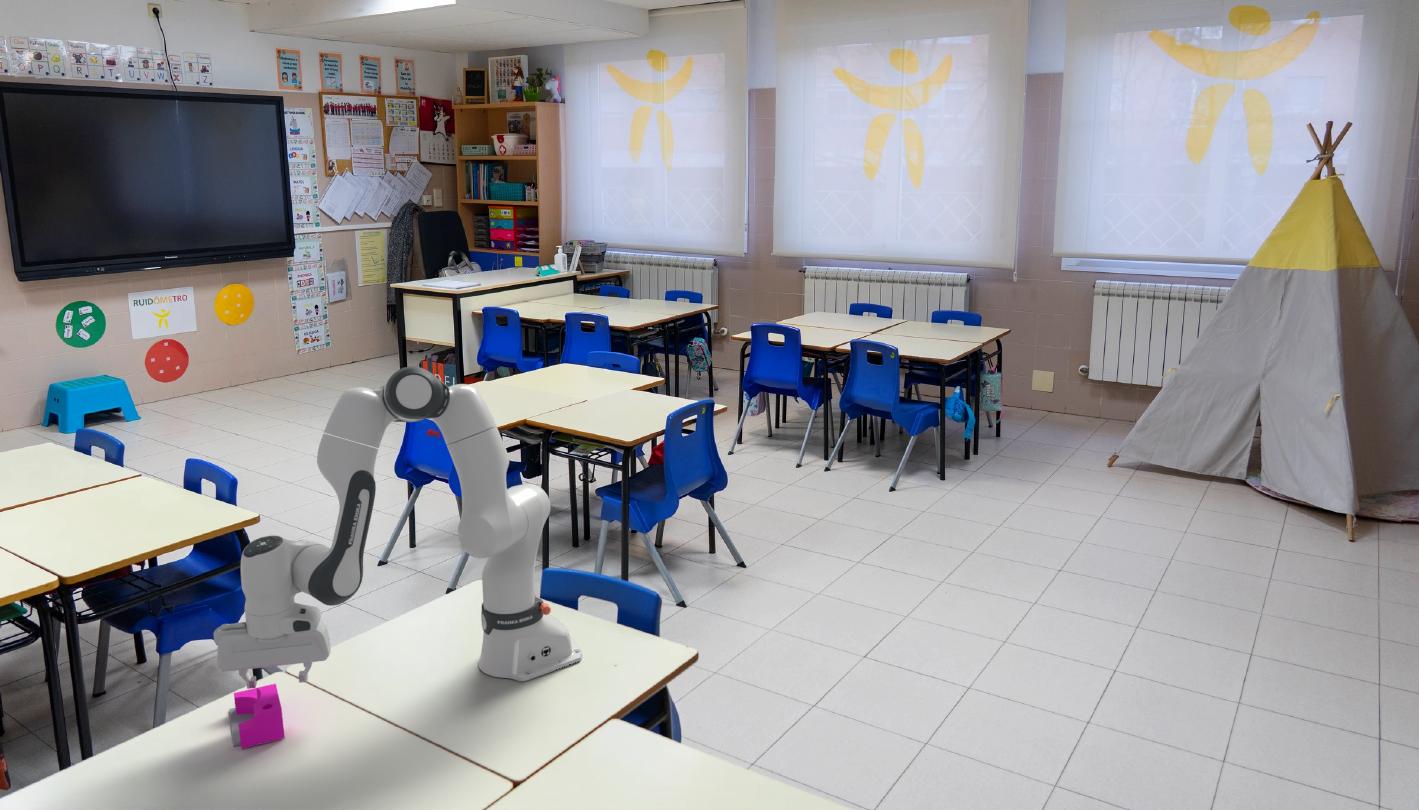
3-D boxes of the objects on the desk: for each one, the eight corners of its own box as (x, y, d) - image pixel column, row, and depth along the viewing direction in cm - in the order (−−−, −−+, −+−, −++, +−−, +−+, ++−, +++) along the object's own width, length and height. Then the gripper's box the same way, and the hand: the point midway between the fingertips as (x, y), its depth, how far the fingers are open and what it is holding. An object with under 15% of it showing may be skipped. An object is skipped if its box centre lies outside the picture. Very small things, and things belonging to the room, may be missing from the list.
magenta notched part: (281, 708, 184) (237, 719, 181) (284, 737, 186) (241, 748, 182) (273, 672, 197) (232, 681, 193) (276, 700, 198) (235, 709, 195)
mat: (272, 700, 199) (272, 699, 199) (279, 735, 187) (279, 734, 187) (229, 710, 195) (229, 709, 195) (233, 746, 183) (233, 745, 183)
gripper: (208, 633, 183) (216, 699, 186) (324, 621, 188) (330, 685, 191) (215, 618, 188) (223, 682, 192) (328, 607, 194) (334, 669, 197)
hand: (278, 683), depth 192 cm, fingers open, 8 cm apart
